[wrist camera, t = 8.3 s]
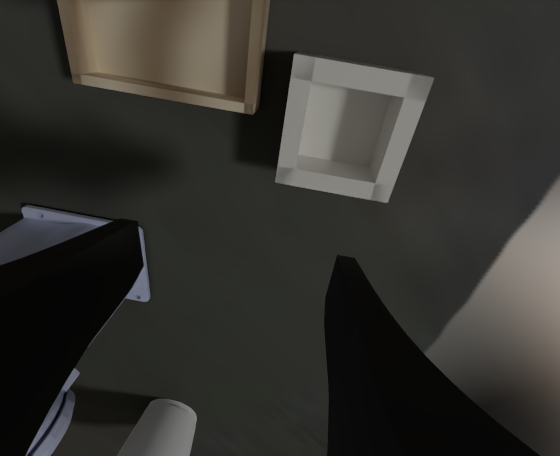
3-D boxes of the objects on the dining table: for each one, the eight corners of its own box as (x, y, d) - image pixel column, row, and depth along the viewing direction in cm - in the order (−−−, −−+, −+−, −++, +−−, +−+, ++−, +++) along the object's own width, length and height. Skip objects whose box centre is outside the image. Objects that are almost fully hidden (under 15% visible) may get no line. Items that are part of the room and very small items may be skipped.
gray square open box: (281, 164, 20) (275, 182, 17) (298, 51, 16) (294, 53, 14) (379, 181, 20) (387, 203, 17) (416, 71, 16) (434, 77, 14)
